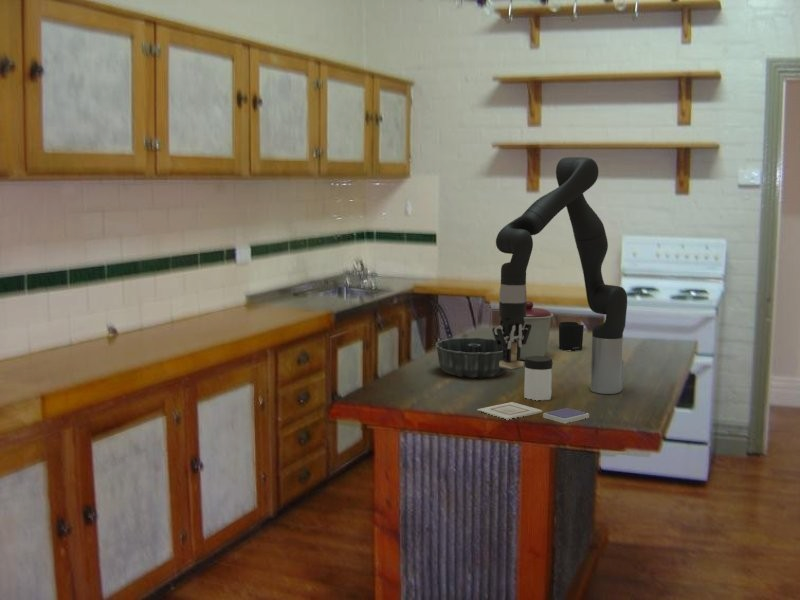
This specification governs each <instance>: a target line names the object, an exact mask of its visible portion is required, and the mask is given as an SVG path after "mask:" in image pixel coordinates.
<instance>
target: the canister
mask: <svg viewBox="0 0 800 600" xmlns="http://www.w3.org/2000/svg"><path fill="white" fill-rule="evenodd" d="M553 317H554V314H553V313H552V312H551V311H550V310H548V309H544V308H540V307H539V308H538V307H534V303H533V301H529V300H526V316H525V317H524V321H525V323H526V324H531V330H530V333H529V336H528V339H527V342H526V344H523V345H522V346H521V348H520V359H519V360H518V361H525V358H526V357H530V356H544V357H546V354H547V350H548V345H549V337H550V331H551V323H552V318H553ZM506 337H509V336H506ZM523 338H524V336H523ZM523 338H522V340H523ZM516 340H517V339H516ZM511 342H512V341H511Z"/></svg>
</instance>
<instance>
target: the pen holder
mask: <svg viewBox="0 0 800 600" xmlns="http://www.w3.org/2000/svg"><path fill="white" fill-rule="evenodd" d="M584 326H585V325H584V324H580V323H578V322H575V321H562V322H559V323H558V348H559V350H561V349H562V350H561V351H564V350H571V351H570V352H576V351H575V350H580V351H582V350H583V340H584V328H585V327H584Z"/></svg>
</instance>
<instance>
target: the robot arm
mask: <svg viewBox="0 0 800 600" xmlns="http://www.w3.org/2000/svg"><path fill="white" fill-rule="evenodd" d="M555 177H556V182H557V184H558V187H555V189H553V190H551V191H550V192H548V193H546V194H544V195H543V196H541V197H539V198H538V199H536V200H535V201H534V202H533V203H531V205H530V206H529V207H527V209H526V210H525V211H524V213H522V214H521V215H520V216H518V217H517V218H515V219H514V220H512V221H511V222H509V223H508V224H506V225H505V226H503V228H501V229H500V231H498V233H497V236H496V237H495V246H496V248H497V250H498V251H499V252H501V253H504V254H509V255H511V259H510V261H509V262H505V263H503V264H501V268H500V286H499V287H500V288H499V299H498V316H499V317H500V322H499V325H498V326H497V327H493V328H492V334H493V338H494V339H495V340H496V343H497V346H499V347H502V348H503V360H504V361H505V362H510V361H511V349H510V348H511V341H512V342H517V361H520V360H519V359H520V348H521V346H522V345H523V344H526V342H527V339H528V336H529V333H530V330H531V324H526V323H525V321H524V317H525V316H526V301H527V293H528V292H527V269H528V265H529V262H530V259H531V258H530V257H531V255H532V251H533V246H534V241H533V236H535V235H537V234H539V233H541V232H542V231H543V230H544V229H545V227H546V226H547V225H548V224H549V223H550V222H551V221H552V220H553V219H554V218H555V217H556V216H557V215H558V214H559V213H560V212H561V211H562V210H564V209H565V208H566V210H567V214H568V216H569V221H570V224H571V228H572V232H573V237H574V240H575V244H576V249H577V252H578V253H577V254H578V256H579V259H580V264H581V269H582V274H583V279H584V280H583V281H584V287H585V292H586V293H585V294H586V300H587V303H588V307H589V310H591V311H592V312H593V313H595V314H598V315H605V320H604V322H603V323H602V324H598V325H595V326H593V328H592V332H591V333H592V334H591V362H590V363H591V364H590V365H591V366H590V391H591V392H593V393H597V394H602V395H603V394H604V395H615V394H619V393H621V391H623V385H624V384H623V382H624V363H625V362H624V360H623V340H624V339H623V338H624V337H623V336H624V330H625V328H626V321H627V310H628V295H627V291H626V290H625V288H624V287H622V286H619V285H612V284H606V283H605V281H604V278H603V274H602V273H603V272H602V265H603V262H604V260H605V258H606V255H607V253H608V252H607V251H608V247H609V242H608V238H607V232H606V229H605V225H604V223H603V221H602V220H601V218H600V217H599V215H598V214H597V213H596V212H595V210H594V209H593V208H592V207H591V205H590V204H589V203H588V202H587V199H586V197H585V196H584V193H585V192H587V191H588V190H589V189H590V188H592V187H593V186H594V185H595V183H596V182H597V180H598V177H599V166H598V163H597V162H596V160H594V159H592V158H590V157H585V156H584V157H583V156H576V157H575V156H568V157H563V158H561V159H560V160H558V162H557V164H556V168H555ZM507 336H509V337H507ZM523 336H524V338H523ZM522 338H523V340H522ZM516 339H517V340H516ZM500 341H501V342H500ZM506 342H507V344H506Z"/></svg>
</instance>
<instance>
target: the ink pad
mask: <svg viewBox="0 0 800 600" xmlns="http://www.w3.org/2000/svg"><path fill="white" fill-rule="evenodd" d="M542 418H544V419H548V420H550V421H554V422H557V423H561V424H569V422H570V423H573V422H577V421H581V420H586V419H589V418H590V413H588V412H584V411H582V410H581V411H580V410H577V409H572V408H569V407H565V408H561V409H557V410H553V411H547V412H542ZM585 418H586V419H585Z"/></svg>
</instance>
